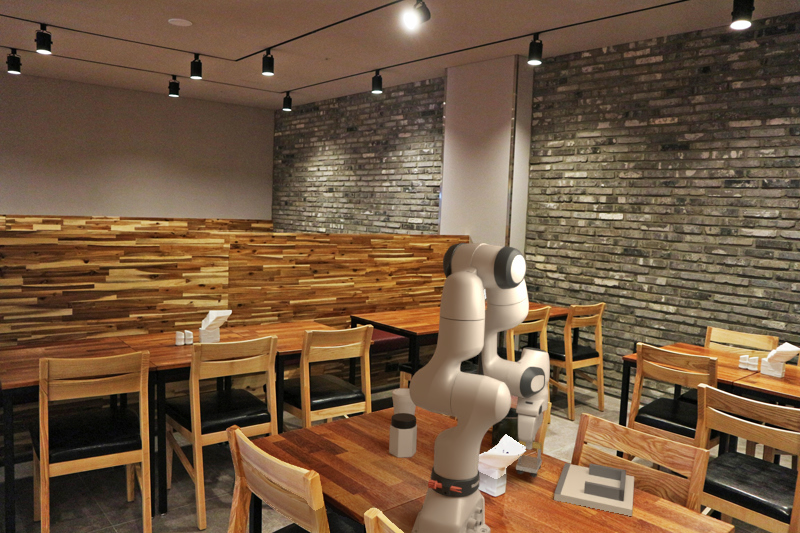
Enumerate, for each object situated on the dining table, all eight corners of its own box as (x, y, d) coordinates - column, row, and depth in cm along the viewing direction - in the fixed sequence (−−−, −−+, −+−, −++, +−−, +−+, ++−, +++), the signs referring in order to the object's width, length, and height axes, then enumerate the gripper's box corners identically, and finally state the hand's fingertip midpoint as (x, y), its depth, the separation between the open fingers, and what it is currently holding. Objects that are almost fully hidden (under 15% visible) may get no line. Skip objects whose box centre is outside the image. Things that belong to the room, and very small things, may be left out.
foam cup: (416, 431, 206) (418, 396, 205) (391, 431, 206) (392, 395, 205) (415, 422, 216) (417, 388, 214) (391, 421, 215) (392, 388, 214)
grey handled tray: (536, 479, 166) (538, 448, 165) (514, 475, 168) (516, 444, 168) (542, 468, 174) (543, 438, 173) (521, 464, 176) (522, 435, 176)
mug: (528, 445, 196) (529, 411, 196) (509, 459, 185) (511, 423, 184) (499, 437, 203) (501, 404, 202) (479, 450, 191) (481, 415, 190)
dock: (631, 517, 150) (633, 498, 150) (554, 500, 158) (555, 482, 158) (633, 483, 170) (634, 466, 170) (564, 469, 178) (565, 453, 178)
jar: (421, 454, 186) (422, 418, 185) (401, 460, 181) (403, 423, 180) (403, 445, 193) (404, 410, 192) (384, 451, 188) (385, 415, 187)
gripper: (528, 391, 180) (526, 434, 181) (514, 408, 162) (512, 456, 163) (549, 394, 178) (546, 437, 179) (537, 412, 159) (534, 460, 160)
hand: (530, 446), depth 171 cm, fingers closed on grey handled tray
